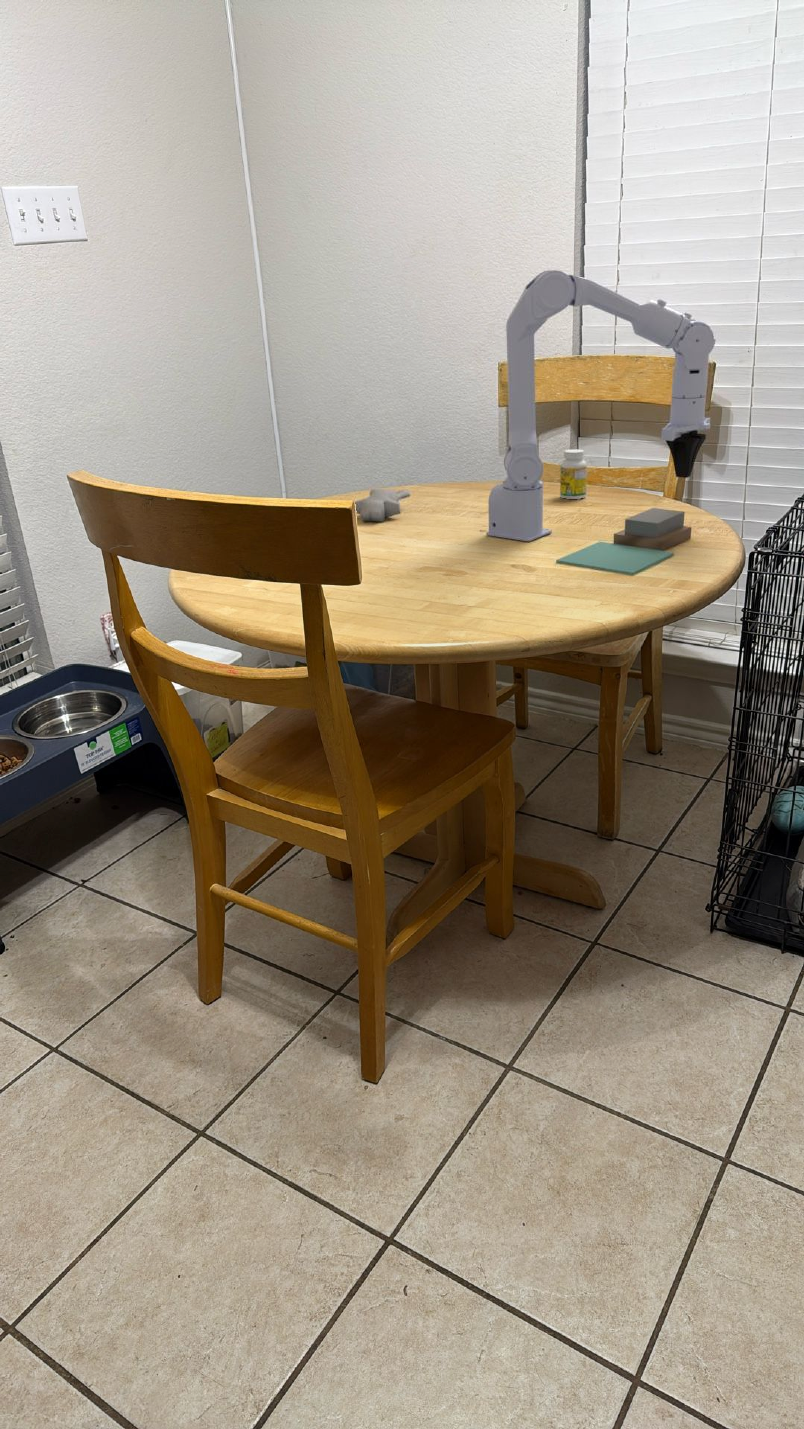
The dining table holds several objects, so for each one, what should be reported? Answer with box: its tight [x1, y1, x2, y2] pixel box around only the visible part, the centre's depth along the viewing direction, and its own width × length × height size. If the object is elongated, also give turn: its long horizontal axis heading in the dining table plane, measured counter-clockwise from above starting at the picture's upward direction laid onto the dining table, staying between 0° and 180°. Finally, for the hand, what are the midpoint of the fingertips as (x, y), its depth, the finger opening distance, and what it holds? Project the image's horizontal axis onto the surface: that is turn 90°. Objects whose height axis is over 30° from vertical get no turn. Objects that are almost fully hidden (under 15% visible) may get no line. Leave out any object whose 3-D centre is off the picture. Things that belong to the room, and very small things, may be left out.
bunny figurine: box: [354, 488, 411, 523], centre depth 196 cm, size 10×5×15 cm
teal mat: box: [555, 541, 675, 576], centre depth 160 cm, size 14×14×1 cm
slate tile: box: [624, 507, 685, 538], centre depth 168 cm, size 6×10×2 cm, turn 139°
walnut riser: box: [612, 525, 692, 551], centre depth 168 cm, size 9×11×2 cm
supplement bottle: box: [559, 448, 588, 500], centre depth 202 cm, size 5×5×10 cm
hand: (682, 476), depth 172 cm, fingers closed
